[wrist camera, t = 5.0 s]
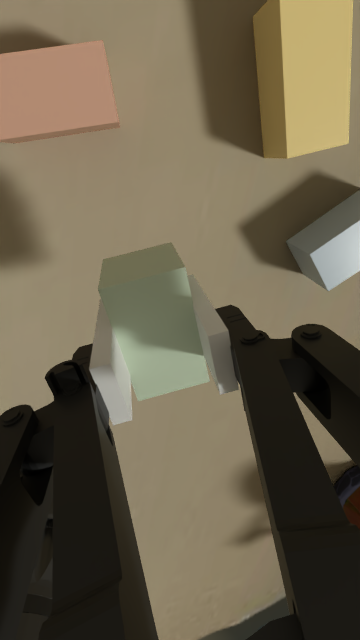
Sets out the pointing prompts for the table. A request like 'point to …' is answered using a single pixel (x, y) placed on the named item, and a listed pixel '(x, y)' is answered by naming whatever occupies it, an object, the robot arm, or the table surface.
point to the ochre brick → (303, 74)
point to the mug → (350, 494)
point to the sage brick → (153, 320)
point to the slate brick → (330, 245)
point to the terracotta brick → (55, 92)
